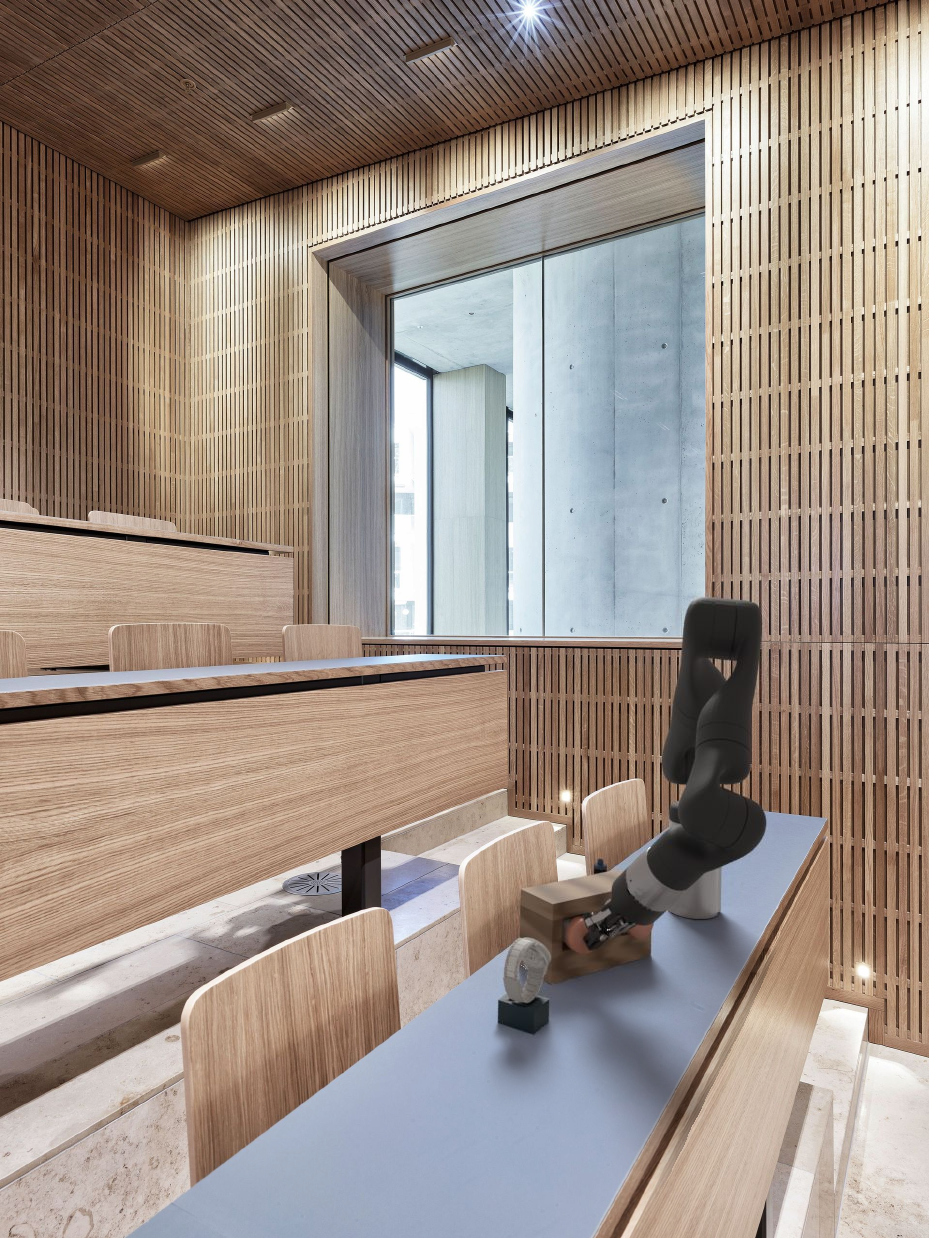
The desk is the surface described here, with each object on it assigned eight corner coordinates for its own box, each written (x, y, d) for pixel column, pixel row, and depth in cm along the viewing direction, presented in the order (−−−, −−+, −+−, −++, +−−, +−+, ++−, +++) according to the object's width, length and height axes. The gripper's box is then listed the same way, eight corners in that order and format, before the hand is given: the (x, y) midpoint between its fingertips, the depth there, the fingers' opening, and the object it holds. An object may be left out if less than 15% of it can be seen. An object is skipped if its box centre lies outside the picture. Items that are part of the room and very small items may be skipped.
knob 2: (608, 915, 136) (608, 885, 136) (653, 935, 128) (654, 904, 128) (586, 920, 134) (586, 890, 134) (631, 941, 125) (631, 909, 125)
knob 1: (554, 928, 130) (554, 897, 130) (598, 950, 121) (599, 917, 121) (530, 934, 127) (530, 902, 127) (573, 957, 118) (573, 923, 118)
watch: (555, 1016, 110) (557, 935, 110) (527, 1040, 103) (528, 955, 103) (520, 1005, 113) (521, 926, 113) (490, 1028, 106) (491, 944, 106)
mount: (616, 939, 137) (618, 869, 138) (651, 955, 131) (652, 882, 131) (519, 965, 126) (520, 888, 126) (551, 984, 119) (552, 904, 119)
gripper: (670, 853, 115) (609, 912, 125) (602, 867, 108) (544, 928, 118) (699, 901, 110) (633, 958, 121) (629, 918, 103) (566, 978, 113)
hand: (589, 943), depth 119 cm, fingers closed
